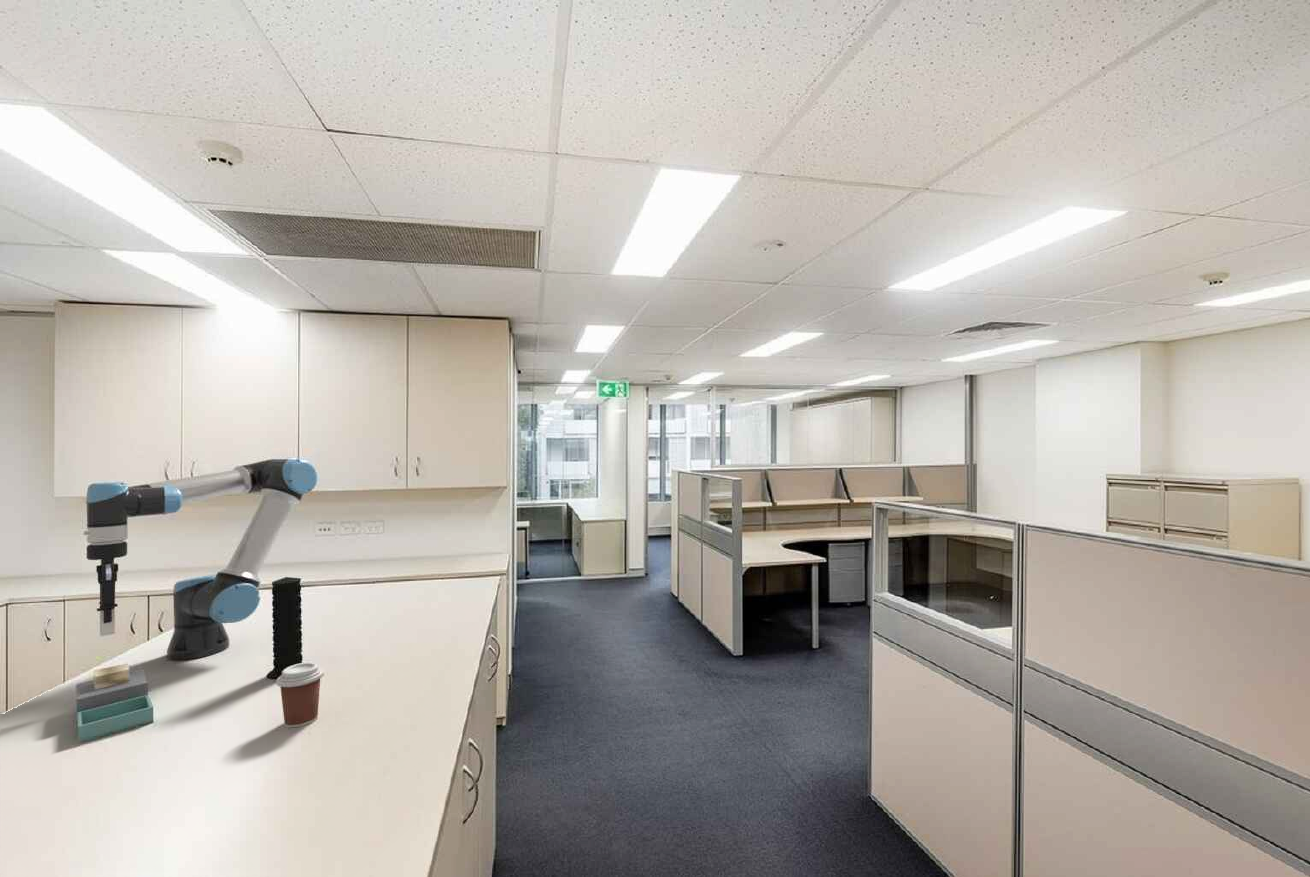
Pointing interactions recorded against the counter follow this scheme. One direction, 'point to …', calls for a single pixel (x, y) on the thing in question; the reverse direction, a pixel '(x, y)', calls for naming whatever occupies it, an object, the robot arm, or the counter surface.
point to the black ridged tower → (286, 625)
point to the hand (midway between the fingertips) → (107, 634)
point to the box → (114, 718)
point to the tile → (111, 676)
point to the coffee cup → (300, 693)
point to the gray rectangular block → (110, 692)
